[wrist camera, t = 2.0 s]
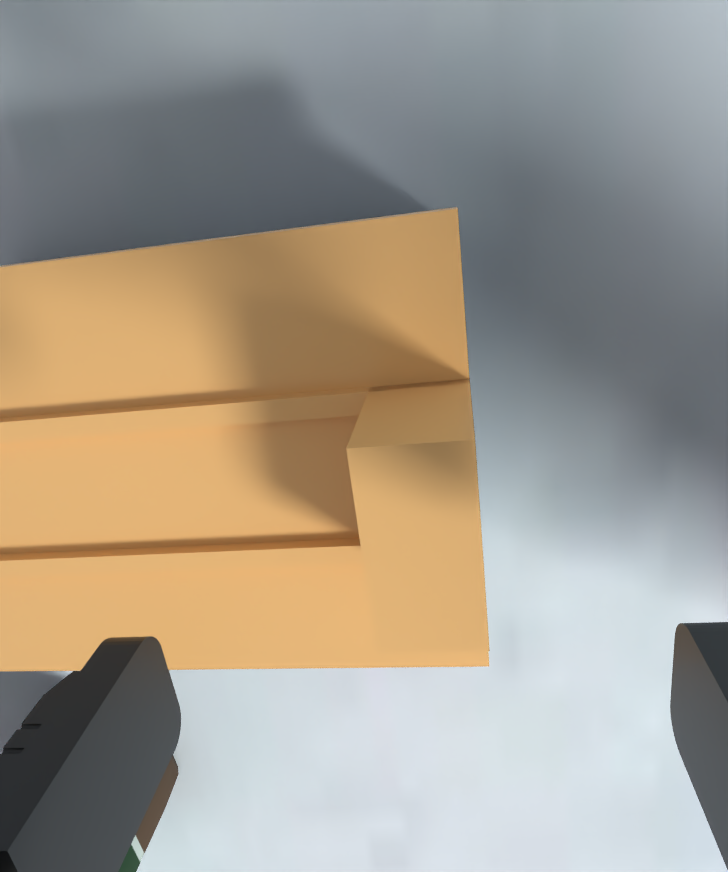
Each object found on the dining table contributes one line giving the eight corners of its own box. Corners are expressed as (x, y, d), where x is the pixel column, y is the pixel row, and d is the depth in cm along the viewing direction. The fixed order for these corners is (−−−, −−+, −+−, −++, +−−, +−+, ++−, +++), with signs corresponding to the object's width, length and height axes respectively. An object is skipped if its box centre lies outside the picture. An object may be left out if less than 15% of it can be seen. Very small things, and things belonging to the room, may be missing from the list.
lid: (456, 204, 17) (459, 218, 11) (485, 613, 21) (498, 783, 15) (-104, 277, 19) (-352, 321, 13) (30, 624, 24) (-109, 772, 18)
